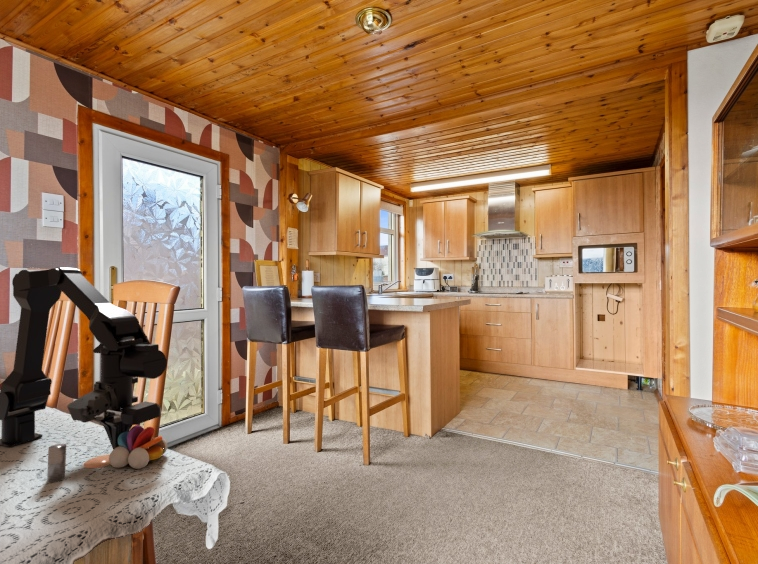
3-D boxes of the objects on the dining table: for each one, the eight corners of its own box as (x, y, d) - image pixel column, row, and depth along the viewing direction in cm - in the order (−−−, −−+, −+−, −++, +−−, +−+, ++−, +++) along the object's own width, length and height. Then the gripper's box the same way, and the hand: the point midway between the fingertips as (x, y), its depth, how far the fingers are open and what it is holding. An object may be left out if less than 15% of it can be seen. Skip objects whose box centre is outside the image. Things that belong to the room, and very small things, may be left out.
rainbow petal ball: (147, 472, 76) (147, 435, 76) (100, 470, 77) (100, 433, 77) (174, 453, 85) (174, 419, 85) (131, 451, 86) (131, 418, 86)
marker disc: (76, 465, 79) (76, 464, 79) (106, 453, 85) (106, 452, 85) (96, 470, 77) (96, 469, 77) (125, 457, 83) (125, 457, 83)
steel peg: (43, 480, 73) (45, 447, 73) (59, 474, 76) (60, 442, 76) (53, 483, 72) (54, 450, 72) (68, 477, 75) (69, 445, 75)
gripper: (44, 379, 79) (44, 457, 79) (109, 389, 72) (108, 475, 72) (101, 368, 89) (101, 437, 89) (162, 375, 82) (162, 450, 82)
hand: (116, 449), depth 83 cm, fingers closed
